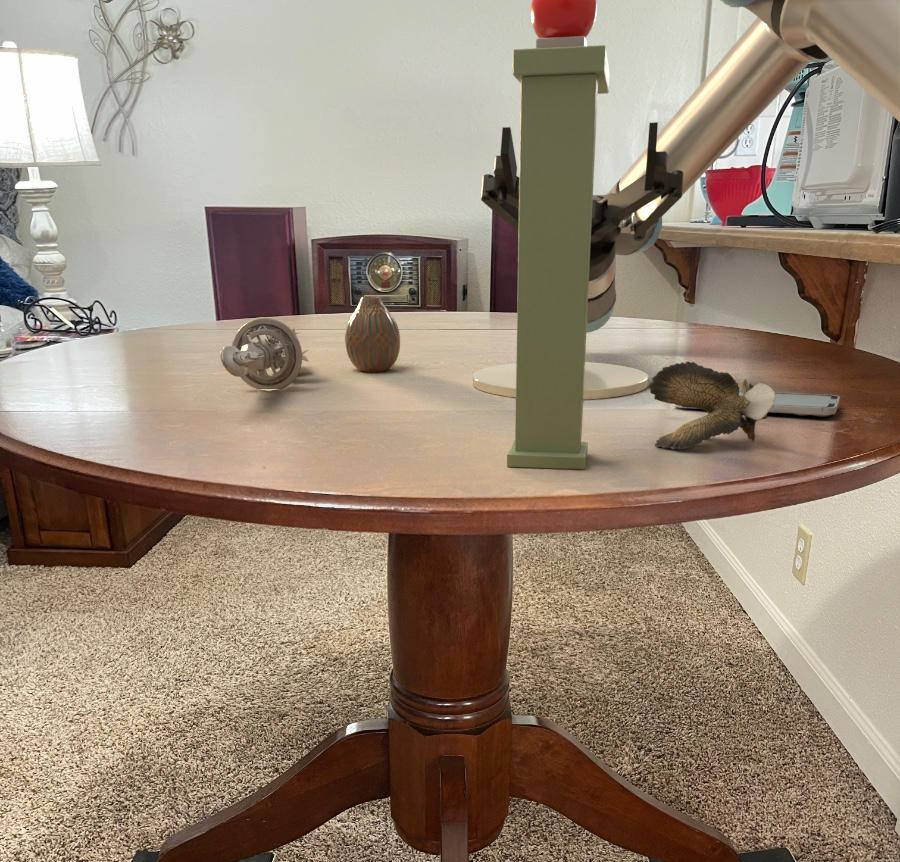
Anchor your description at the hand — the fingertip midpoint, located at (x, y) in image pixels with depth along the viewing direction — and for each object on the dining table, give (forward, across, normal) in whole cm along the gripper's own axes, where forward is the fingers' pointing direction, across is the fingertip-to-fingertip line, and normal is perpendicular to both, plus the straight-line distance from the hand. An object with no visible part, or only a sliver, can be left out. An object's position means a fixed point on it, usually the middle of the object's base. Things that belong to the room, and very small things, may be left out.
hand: (578, 138), depth 82 cm
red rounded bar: (+15, 0, -4) cm, 15 cm away
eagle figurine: (+2, -13, -29) cm, 32 cm away
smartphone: (-12, -19, -22) cm, 31 cm away
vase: (-28, +26, -12) cm, 40 cm away
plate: (-22, +2, -16) cm, 27 cm away
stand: (+5, 0, -31) cm, 31 cm away
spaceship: (-14, +34, -20) cm, 42 cm away
